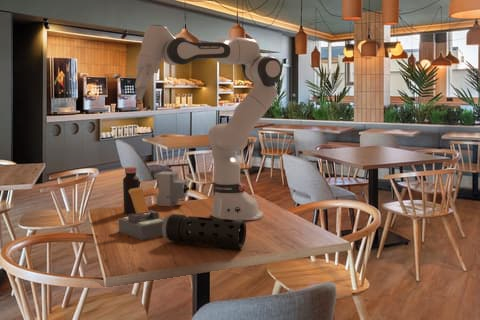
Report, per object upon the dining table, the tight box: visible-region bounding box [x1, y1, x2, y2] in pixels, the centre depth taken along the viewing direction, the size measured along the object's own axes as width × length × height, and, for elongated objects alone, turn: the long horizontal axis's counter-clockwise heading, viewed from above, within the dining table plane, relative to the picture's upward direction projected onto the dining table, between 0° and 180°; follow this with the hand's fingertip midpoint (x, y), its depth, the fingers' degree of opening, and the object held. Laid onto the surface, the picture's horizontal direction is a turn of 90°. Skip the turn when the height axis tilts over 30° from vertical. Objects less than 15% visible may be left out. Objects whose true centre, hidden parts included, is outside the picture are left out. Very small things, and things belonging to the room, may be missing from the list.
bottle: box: [122, 166, 140, 215], centre depth 225 cm, size 7×7×20 cm
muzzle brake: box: [162, 213, 247, 250], centre depth 177 cm, size 10×28×10 cm, turn 72°
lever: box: [129, 186, 151, 219], centre depth 194 cm, size 2×5×12 cm, turn 131°
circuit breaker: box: [155, 171, 190, 207], centre depth 241 cm, size 8×14×15 cm, turn 78°
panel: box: [118, 209, 165, 241], centre depth 193 cm, size 16×12×8 cm
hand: (138, 99), depth 199 cm, fingers open, 8 cm apart
